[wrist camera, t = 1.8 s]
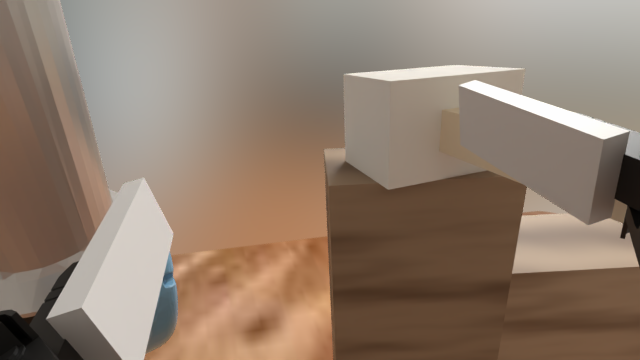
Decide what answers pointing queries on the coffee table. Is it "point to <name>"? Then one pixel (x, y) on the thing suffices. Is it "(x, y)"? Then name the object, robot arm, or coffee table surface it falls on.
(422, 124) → the mallet
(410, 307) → the stand
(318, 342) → the coffee table surface
